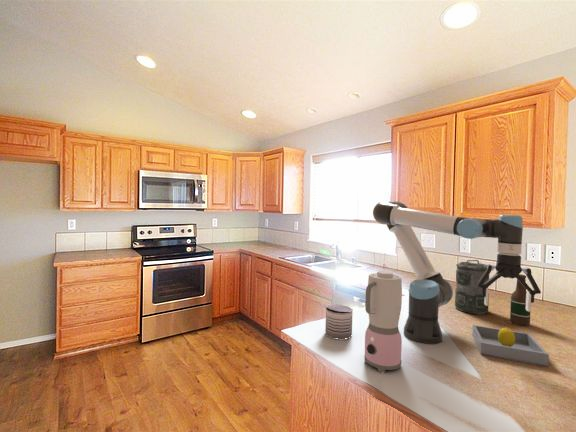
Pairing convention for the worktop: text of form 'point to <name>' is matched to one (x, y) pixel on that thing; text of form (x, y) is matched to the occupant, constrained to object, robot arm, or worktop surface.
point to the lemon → (506, 337)
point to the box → (521, 351)
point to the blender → (383, 321)
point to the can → (338, 321)
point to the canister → (470, 287)
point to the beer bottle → (519, 305)
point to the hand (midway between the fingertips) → (506, 307)
